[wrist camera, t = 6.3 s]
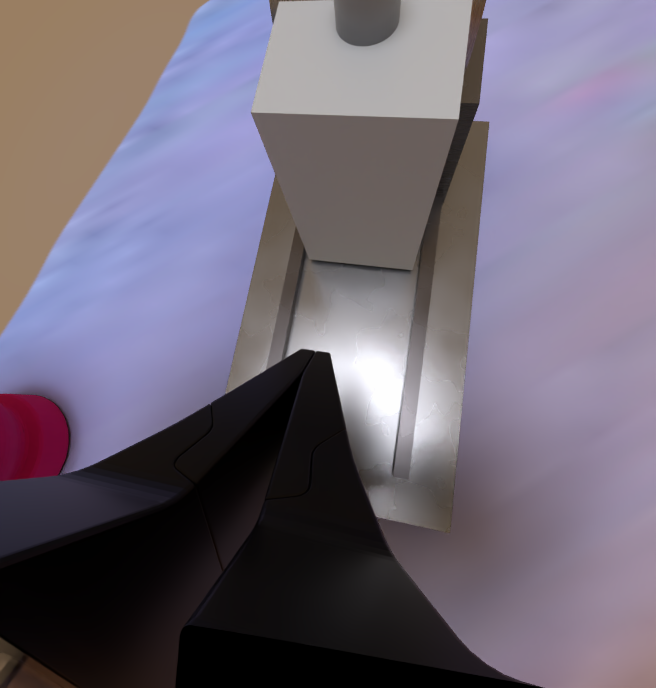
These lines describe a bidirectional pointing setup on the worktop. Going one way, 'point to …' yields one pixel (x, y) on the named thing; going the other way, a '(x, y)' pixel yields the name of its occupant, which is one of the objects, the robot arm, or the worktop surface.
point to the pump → (362, 120)
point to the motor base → (385, 325)
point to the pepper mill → (31, 437)
